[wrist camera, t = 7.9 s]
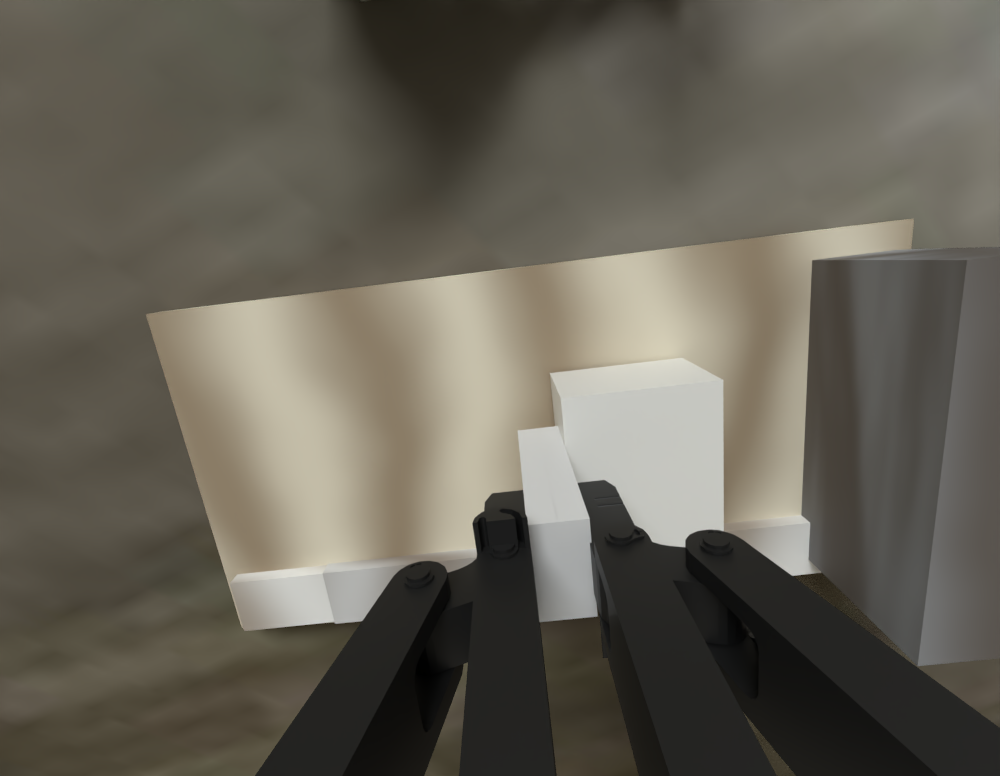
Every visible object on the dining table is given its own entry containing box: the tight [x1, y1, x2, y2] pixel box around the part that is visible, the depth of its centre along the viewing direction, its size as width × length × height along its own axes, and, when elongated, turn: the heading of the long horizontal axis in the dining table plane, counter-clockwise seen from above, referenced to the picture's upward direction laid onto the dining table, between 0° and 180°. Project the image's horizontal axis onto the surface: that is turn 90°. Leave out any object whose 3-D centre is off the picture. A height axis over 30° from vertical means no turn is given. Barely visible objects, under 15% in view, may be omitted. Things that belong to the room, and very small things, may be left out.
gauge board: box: [146, 219, 1000, 666], centre depth 17 cm, size 28×14×7 cm, turn 97°
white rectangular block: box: [550, 358, 724, 547], centre depth 18 cm, size 5×9×4 cm, turn 7°
